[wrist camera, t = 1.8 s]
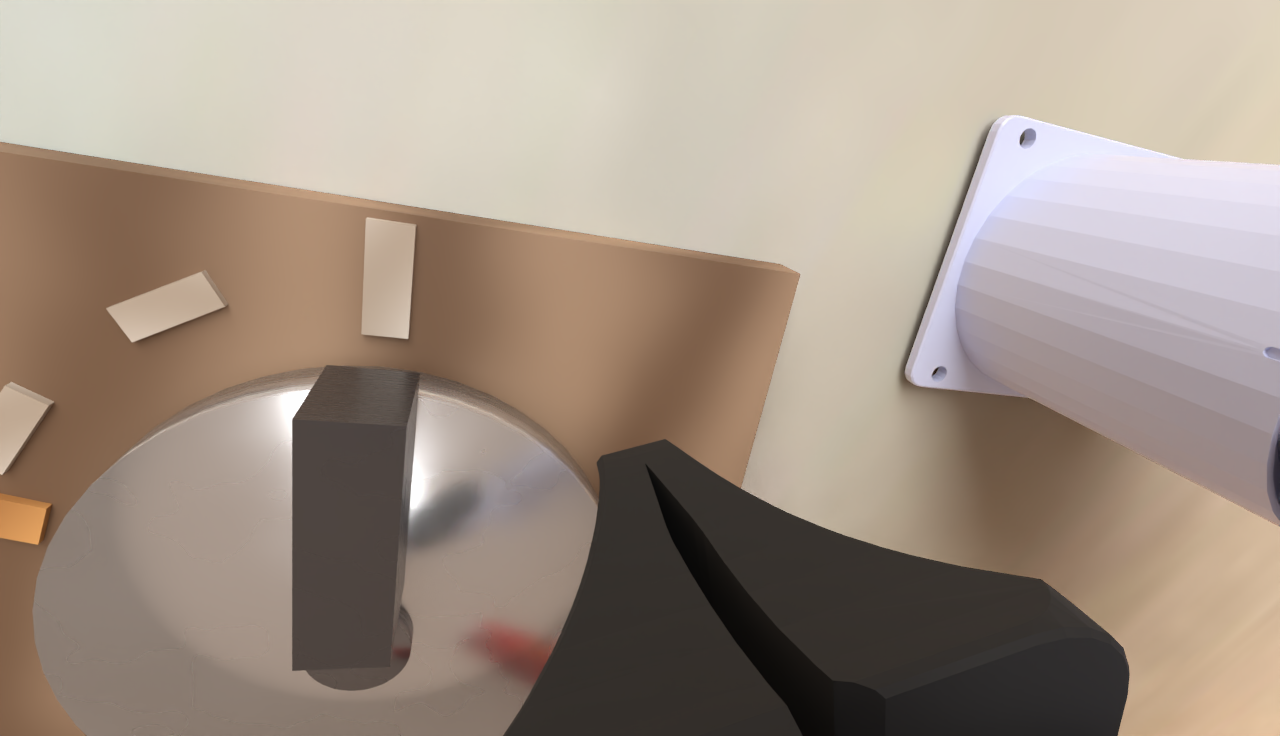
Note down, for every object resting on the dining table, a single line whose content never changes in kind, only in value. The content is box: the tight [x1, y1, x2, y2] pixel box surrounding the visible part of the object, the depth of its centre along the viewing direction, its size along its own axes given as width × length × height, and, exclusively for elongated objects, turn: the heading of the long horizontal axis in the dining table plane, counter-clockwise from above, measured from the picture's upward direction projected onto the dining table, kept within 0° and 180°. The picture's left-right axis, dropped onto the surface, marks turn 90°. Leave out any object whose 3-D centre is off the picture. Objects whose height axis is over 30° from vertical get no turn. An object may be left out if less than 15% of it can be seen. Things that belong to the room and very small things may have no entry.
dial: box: [33, 365, 599, 736], centre depth 15 cm, size 13×14×4 cm
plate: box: [0, 142, 800, 736], centre depth 17 cm, size 20×20×1 cm
